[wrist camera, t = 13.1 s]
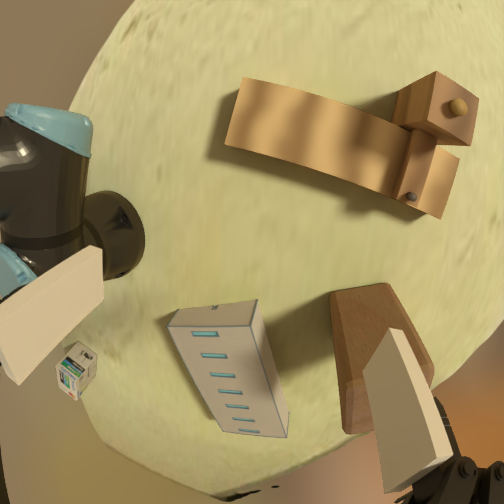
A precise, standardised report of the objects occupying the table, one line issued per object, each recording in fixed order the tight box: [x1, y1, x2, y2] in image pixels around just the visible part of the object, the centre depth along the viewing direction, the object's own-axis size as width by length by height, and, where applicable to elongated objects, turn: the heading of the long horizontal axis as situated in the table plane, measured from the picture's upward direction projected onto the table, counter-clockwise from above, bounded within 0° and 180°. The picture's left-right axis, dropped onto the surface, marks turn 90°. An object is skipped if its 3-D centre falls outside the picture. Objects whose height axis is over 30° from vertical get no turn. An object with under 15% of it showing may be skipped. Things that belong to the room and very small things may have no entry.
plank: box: [225, 77, 460, 220], centre depth 31 cm, size 30×9×4 cm, turn 75°
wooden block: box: [329, 283, 434, 435], centre depth 32 cm, size 10×10×20 cm
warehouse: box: [167, 299, 289, 438], centre depth 46 cm, size 30×14×8 cm, turn 14°
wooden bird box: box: [391, 71, 479, 208], centre depth 25 cm, size 6×15×13 cm, turn 165°
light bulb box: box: [55, 341, 97, 401], centre depth 53 cm, size 11×7×11 cm, turn 154°
